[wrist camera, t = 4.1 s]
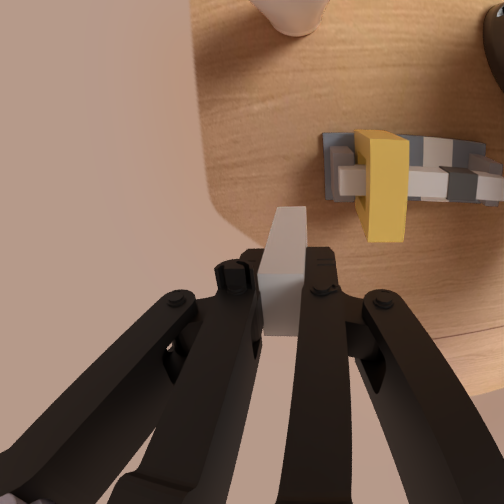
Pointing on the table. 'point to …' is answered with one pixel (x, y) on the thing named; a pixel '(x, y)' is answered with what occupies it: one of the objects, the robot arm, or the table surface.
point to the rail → (347, 155)
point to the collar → (383, 184)
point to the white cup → (292, 14)
